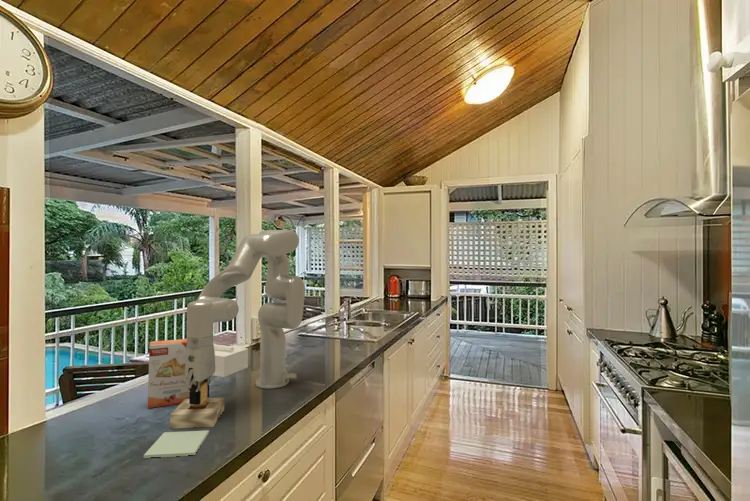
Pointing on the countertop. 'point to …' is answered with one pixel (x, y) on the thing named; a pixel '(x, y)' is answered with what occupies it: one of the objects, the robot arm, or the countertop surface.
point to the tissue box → (229, 360)
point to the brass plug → (202, 396)
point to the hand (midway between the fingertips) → (199, 400)
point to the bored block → (197, 414)
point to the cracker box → (167, 373)
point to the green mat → (177, 444)
